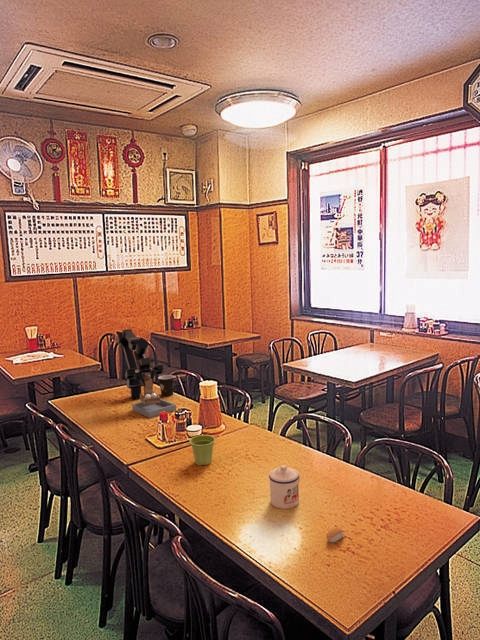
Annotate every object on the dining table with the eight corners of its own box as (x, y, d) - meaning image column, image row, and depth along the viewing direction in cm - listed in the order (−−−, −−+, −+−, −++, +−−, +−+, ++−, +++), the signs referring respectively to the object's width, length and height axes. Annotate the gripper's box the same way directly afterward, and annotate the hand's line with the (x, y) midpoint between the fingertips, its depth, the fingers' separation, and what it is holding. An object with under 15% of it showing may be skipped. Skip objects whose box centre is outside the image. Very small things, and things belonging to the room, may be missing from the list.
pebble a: (144, 400, 237) (143, 395, 236) (147, 398, 240) (146, 392, 239) (149, 401, 236) (148, 396, 235) (152, 398, 238) (151, 393, 237)
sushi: (323, 541, 128) (323, 531, 127) (338, 531, 132) (338, 521, 132) (331, 546, 126) (331, 535, 125) (346, 536, 130) (346, 525, 130)
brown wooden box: (140, 398, 242) (138, 375, 239) (154, 396, 245) (153, 372, 242) (145, 405, 234) (144, 381, 231) (160, 402, 238) (159, 378, 235)
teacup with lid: (287, 513, 142) (286, 475, 141) (263, 503, 149) (262, 467, 147) (311, 496, 151) (310, 461, 149) (287, 488, 157) (286, 454, 156)
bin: (132, 410, 243) (132, 404, 243) (158, 403, 253) (157, 397, 252) (149, 418, 230) (149, 412, 230) (176, 410, 240) (175, 404, 239)
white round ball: (149, 398, 238) (149, 393, 238) (152, 397, 241) (153, 391, 240) (154, 400, 237) (154, 394, 236) (157, 398, 240) (158, 393, 239)
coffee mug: (157, 394, 269) (156, 376, 268) (172, 391, 273) (171, 374, 271) (163, 399, 259) (162, 381, 257) (179, 396, 262) (177, 378, 261)
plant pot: (221, 461, 180) (220, 438, 178) (202, 470, 173) (201, 447, 172) (204, 454, 186) (203, 433, 185) (185, 463, 179) (184, 440, 178)
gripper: (124, 353, 237) (132, 380, 229) (161, 348, 245) (170, 374, 237) (122, 365, 245) (129, 392, 237) (157, 360, 253) (165, 386, 245)
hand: (148, 386), depth 239 cm, fingers closed on brown wooden box, 4 cm apart
